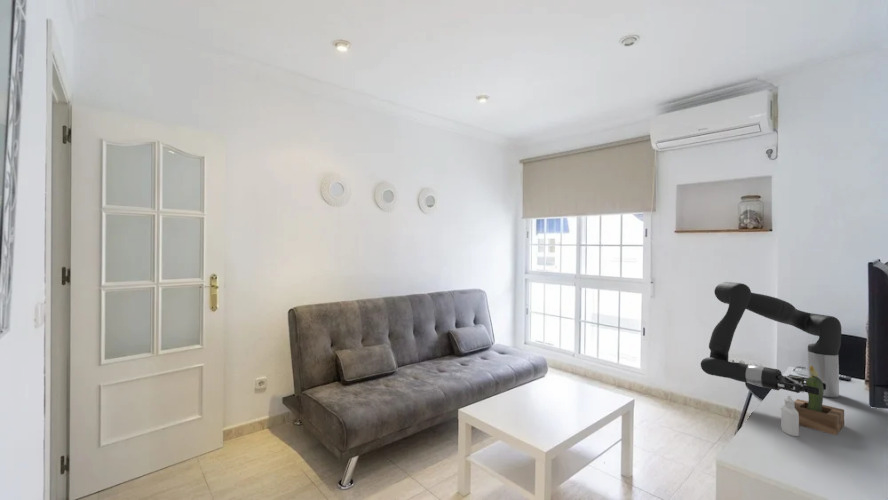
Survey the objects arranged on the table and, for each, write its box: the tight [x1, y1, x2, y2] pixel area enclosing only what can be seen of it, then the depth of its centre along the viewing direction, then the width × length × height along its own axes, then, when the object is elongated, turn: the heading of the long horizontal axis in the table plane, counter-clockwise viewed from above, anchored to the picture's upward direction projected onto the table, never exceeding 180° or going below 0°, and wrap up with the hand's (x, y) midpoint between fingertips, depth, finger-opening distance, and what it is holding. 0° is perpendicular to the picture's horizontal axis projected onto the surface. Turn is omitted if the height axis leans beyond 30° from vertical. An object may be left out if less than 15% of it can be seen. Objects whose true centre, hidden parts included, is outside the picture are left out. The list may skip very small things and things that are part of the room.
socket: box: [793, 398, 845, 436], centre depth 133 cm, size 12×12×6 cm
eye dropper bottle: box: [780, 395, 800, 437], centre depth 126 cm, size 4×6×12 cm
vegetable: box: [805, 366, 824, 412], centre depth 133 cm, size 4×4×20 cm
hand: (822, 389), depth 131 cm, fingers open, 8 cm apart
